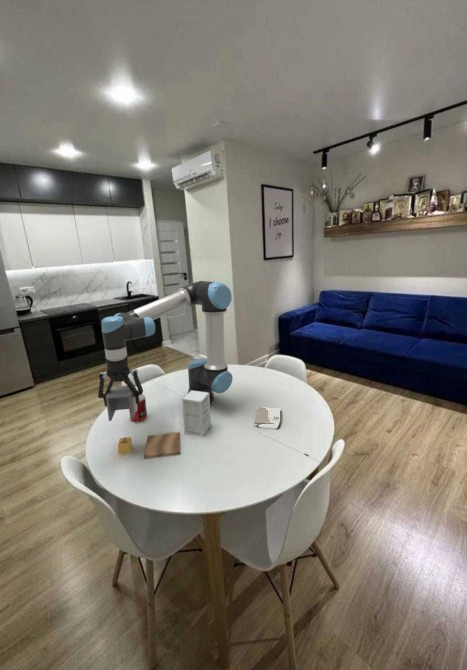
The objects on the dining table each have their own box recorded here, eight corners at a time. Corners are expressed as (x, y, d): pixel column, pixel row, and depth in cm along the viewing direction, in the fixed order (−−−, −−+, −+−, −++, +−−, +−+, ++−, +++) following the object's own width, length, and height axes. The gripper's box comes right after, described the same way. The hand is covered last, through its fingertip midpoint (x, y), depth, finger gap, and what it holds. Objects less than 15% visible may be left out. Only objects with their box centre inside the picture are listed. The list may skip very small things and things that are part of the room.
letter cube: (132, 446, 126) (131, 436, 125) (130, 453, 122) (129, 443, 121) (120, 447, 125) (119, 437, 124) (118, 454, 121) (117, 444, 120)
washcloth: (254, 428, 139) (254, 422, 138) (257, 409, 156) (257, 404, 155) (280, 430, 137) (280, 424, 136) (281, 411, 154) (281, 405, 153)
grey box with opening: (136, 407, 124) (134, 385, 122) (133, 418, 116) (130, 395, 113) (114, 409, 123) (111, 386, 120) (108, 421, 114) (105, 397, 112)
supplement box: (211, 425, 140) (210, 392, 136) (203, 436, 132) (201, 401, 128) (192, 422, 144) (191, 389, 139) (183, 432, 135) (181, 398, 131)
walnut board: (180, 434, 134) (180, 432, 133) (180, 454, 120) (179, 451, 120) (147, 437, 131) (147, 435, 131) (143, 458, 118) (143, 456, 118)
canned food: (142, 423, 143) (140, 401, 140) (127, 421, 145) (124, 400, 142) (149, 414, 150) (148, 394, 148) (135, 413, 152) (133, 393, 149)
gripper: (147, 352, 119) (152, 404, 124) (89, 356, 115) (96, 409, 121) (145, 359, 111) (150, 413, 117) (82, 363, 108) (91, 419, 114)
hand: (123, 411), depth 119 cm, fingers closed on grey box with opening, 9 cm apart
